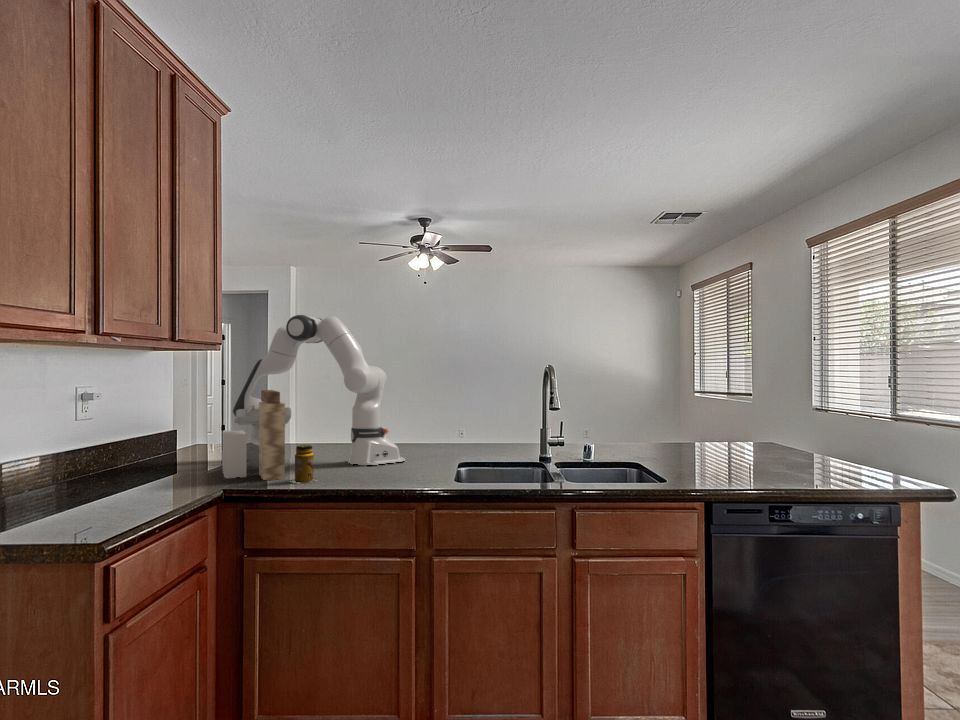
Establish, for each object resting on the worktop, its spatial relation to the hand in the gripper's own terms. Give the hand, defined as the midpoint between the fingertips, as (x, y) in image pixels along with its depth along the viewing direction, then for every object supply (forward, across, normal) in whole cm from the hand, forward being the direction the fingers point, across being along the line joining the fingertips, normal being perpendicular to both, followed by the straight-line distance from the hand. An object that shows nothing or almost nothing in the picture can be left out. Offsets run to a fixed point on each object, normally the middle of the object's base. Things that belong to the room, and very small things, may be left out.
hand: (265, 406), depth 228 cm
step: (-5, -12, +24) cm, 27 cm away
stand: (+4, 0, +30) cm, 30 cm away
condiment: (+16, +8, +37) cm, 41 cm away
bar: (+14, 0, +5) cm, 14 cm away
